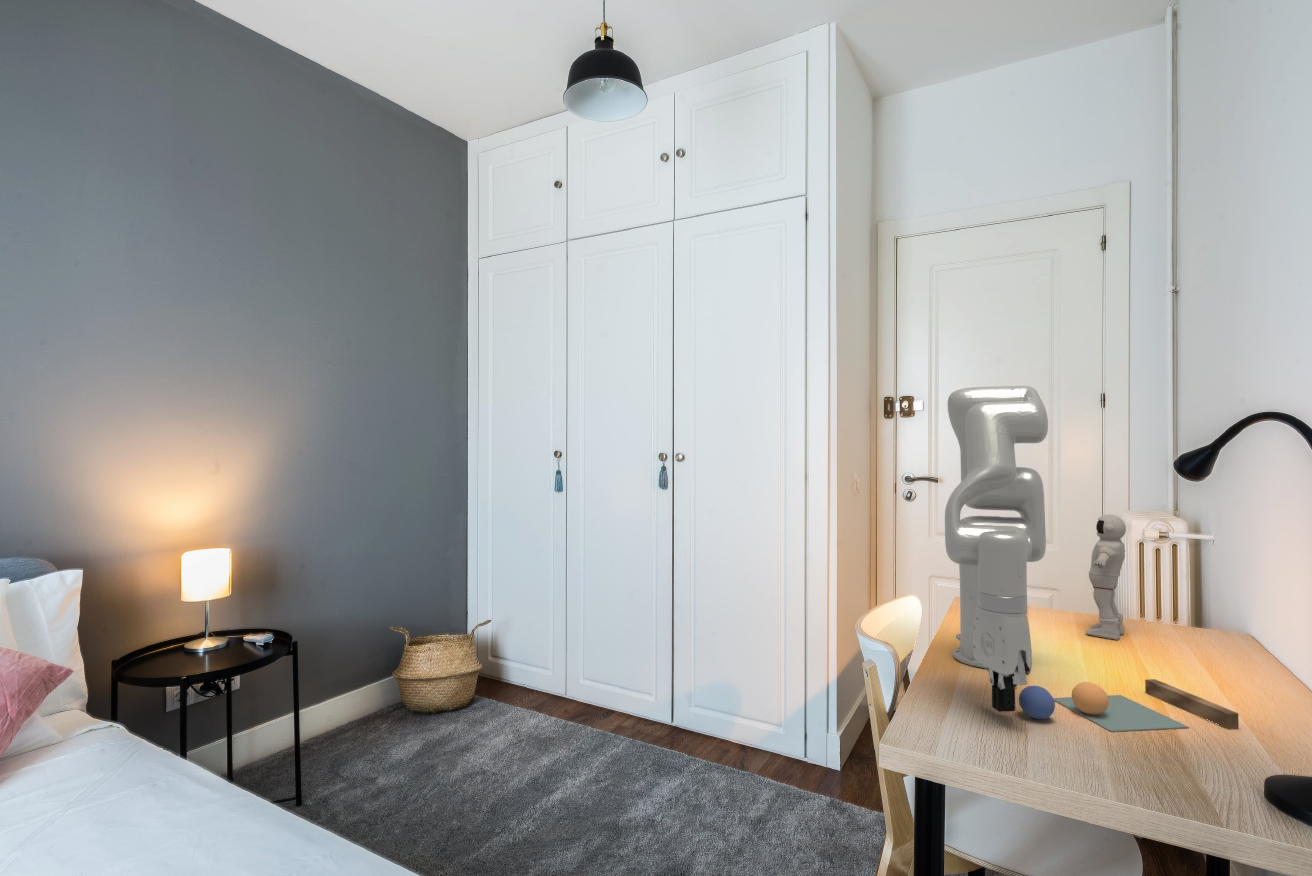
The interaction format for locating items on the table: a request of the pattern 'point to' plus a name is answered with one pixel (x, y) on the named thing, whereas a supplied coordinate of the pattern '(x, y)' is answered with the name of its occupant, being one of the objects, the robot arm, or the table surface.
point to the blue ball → (1036, 702)
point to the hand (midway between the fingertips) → (1003, 709)
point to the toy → (1107, 576)
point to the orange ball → (1090, 698)
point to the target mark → (1125, 715)
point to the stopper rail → (1192, 703)
